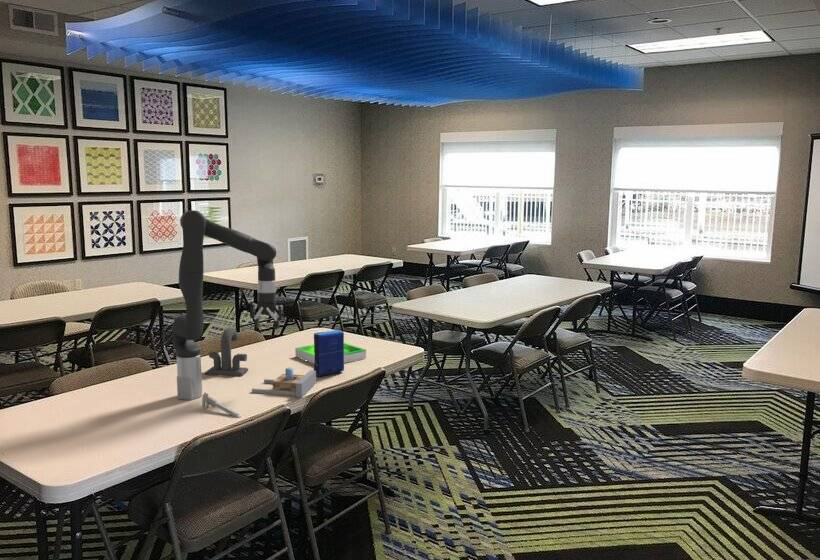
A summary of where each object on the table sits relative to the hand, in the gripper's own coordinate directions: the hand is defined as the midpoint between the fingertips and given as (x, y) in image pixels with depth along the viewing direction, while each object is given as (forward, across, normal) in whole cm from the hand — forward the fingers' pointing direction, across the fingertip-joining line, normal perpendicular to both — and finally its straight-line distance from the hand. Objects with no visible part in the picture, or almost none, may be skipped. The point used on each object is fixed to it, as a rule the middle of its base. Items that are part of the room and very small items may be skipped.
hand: (266, 328), depth 273 cm
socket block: (+25, +12, -2) cm, 27 cm away
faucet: (+25, -26, +16) cm, 40 cm away
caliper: (+26, -4, -33) cm, 42 cm away
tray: (+24, +12, +48) cm, 55 cm away
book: (+24, +20, +22) cm, 38 cm away
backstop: (+25, +9, -2) cm, 26 cm away
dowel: (+25, +11, -2) cm, 27 cm away
